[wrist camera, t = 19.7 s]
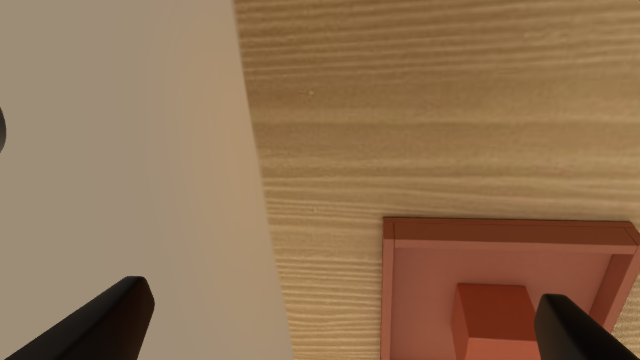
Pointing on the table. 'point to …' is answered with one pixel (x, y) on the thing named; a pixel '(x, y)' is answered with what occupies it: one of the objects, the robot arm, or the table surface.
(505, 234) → the terracotta tray
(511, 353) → the terracotta block
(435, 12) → the table surface
